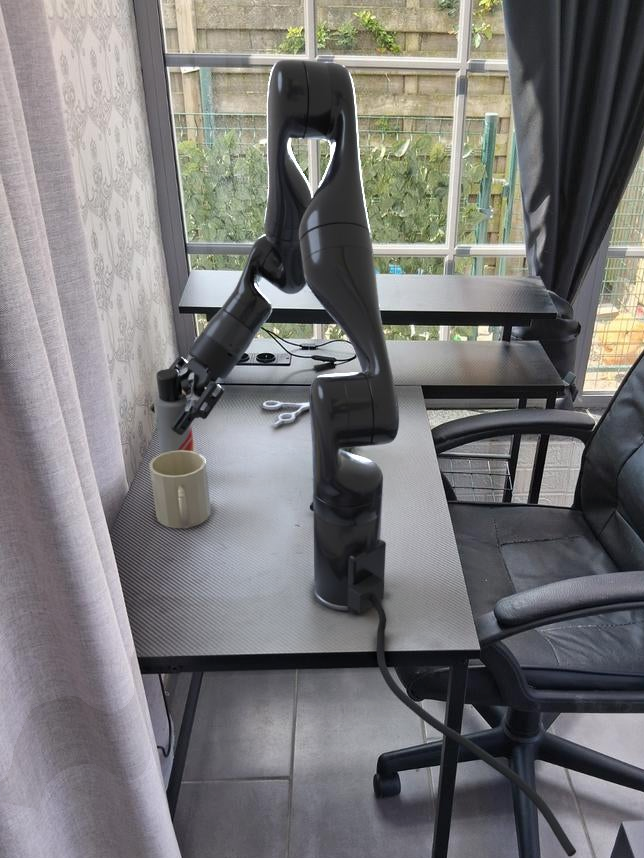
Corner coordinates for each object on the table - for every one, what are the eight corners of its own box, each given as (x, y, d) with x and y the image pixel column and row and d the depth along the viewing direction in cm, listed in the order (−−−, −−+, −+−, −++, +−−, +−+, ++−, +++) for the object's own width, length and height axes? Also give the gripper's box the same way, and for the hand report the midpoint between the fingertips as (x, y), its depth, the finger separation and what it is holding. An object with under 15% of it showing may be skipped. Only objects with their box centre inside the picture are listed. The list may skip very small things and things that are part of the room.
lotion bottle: (203, 478, 140) (193, 372, 129) (176, 490, 136) (162, 381, 125) (184, 466, 143) (172, 362, 132) (157, 477, 139) (142, 371, 129)
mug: (155, 503, 132) (148, 453, 127) (208, 497, 135) (203, 447, 129) (158, 543, 123) (151, 490, 118) (214, 536, 125) (209, 484, 120)
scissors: (254, 403, 164) (340, 385, 173) (254, 407, 165) (340, 389, 173) (275, 424, 157) (363, 404, 165) (275, 427, 157) (363, 408, 166)
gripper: (187, 318, 134) (131, 396, 135) (226, 345, 125) (165, 428, 125) (218, 343, 140) (164, 417, 140) (257, 369, 130) (199, 449, 131)
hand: (164, 422), depth 133 cm, fingers open, 8 cm apart
